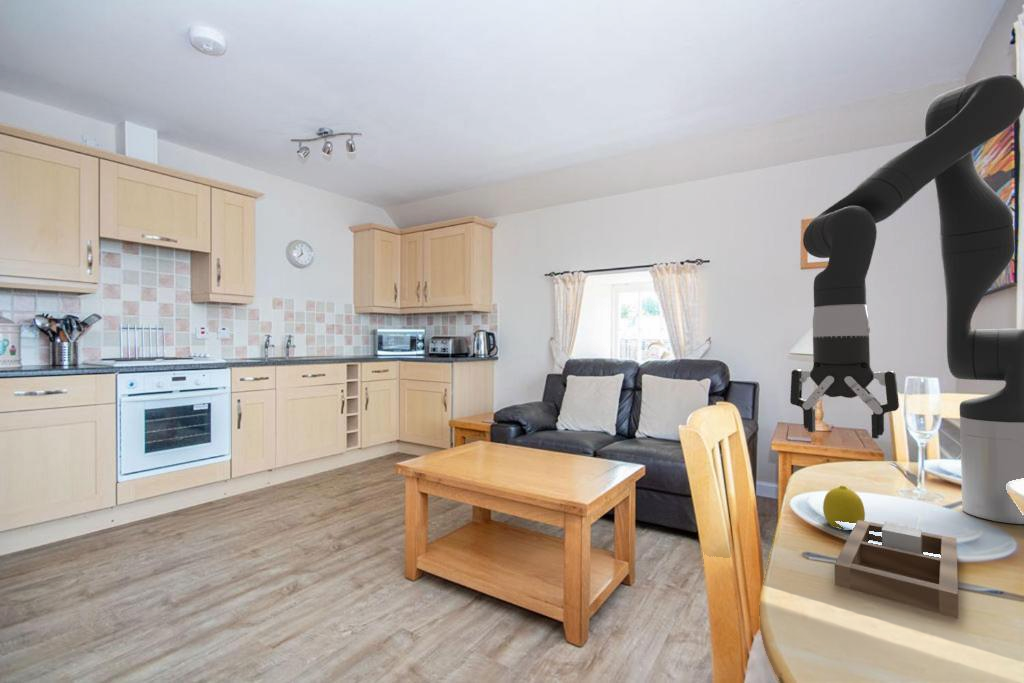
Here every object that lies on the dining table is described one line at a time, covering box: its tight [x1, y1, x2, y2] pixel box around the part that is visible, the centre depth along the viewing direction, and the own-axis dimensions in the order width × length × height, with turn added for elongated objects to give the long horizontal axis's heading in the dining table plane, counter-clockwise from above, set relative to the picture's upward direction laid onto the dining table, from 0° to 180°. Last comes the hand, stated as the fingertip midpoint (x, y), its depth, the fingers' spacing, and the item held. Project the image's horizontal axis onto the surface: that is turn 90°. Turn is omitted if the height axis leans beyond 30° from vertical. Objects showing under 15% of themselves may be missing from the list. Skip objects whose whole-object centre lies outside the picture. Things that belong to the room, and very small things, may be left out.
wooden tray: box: [834, 520, 959, 619], centre depth 62 cm, size 20×11×4 cm, turn 137°
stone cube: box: [882, 521, 923, 554], centre depth 65 cm, size 4×4×4 cm
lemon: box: [822, 485, 866, 529], centre depth 77 cm, size 6×6×8 cm
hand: (842, 434), depth 77 cm, fingers open, 8 cm apart
